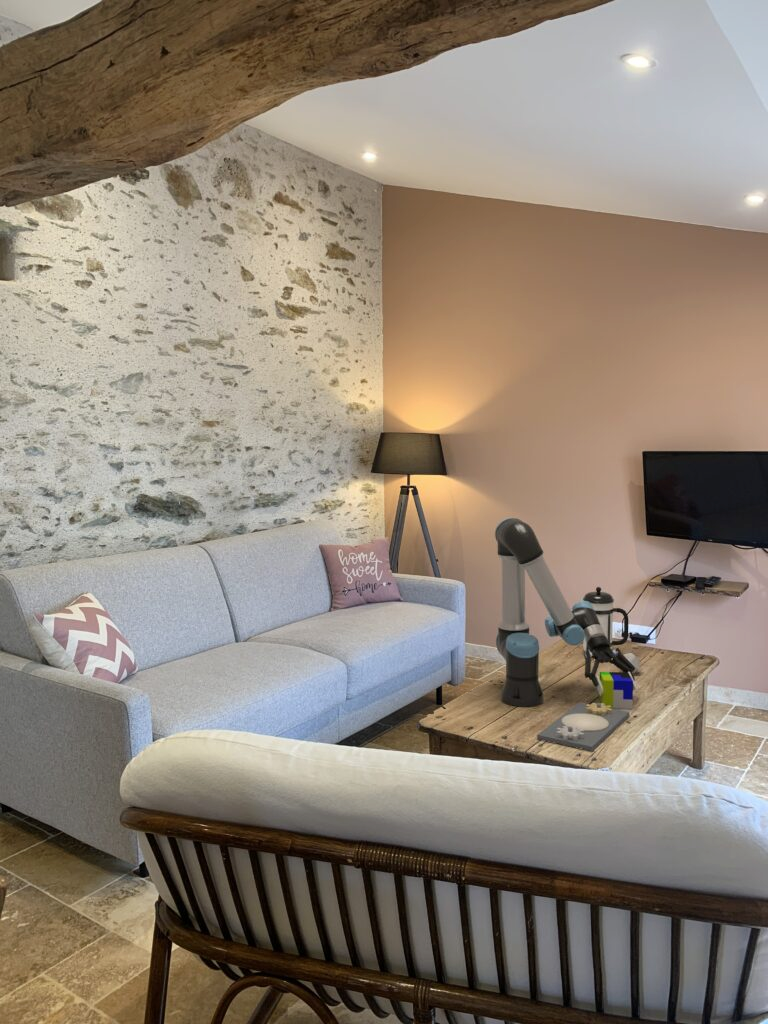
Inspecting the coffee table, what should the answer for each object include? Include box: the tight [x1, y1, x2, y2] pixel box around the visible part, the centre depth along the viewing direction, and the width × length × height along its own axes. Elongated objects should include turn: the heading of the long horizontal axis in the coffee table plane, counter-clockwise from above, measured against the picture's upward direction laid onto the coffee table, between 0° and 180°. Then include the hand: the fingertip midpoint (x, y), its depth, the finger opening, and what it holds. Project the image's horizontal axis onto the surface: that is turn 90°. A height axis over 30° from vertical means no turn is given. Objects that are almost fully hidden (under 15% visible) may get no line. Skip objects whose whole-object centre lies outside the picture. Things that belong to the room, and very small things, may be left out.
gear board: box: [536, 702, 630, 752], centre depth 270 cm, size 36×18×4 cm, turn 146°
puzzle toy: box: [598, 671, 634, 710], centre depth 292 cm, size 10×10×10 cm
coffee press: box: [581, 586, 629, 653], centre depth 352 cm, size 17×16×30 cm
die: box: [622, 652, 642, 675], centre depth 327 cm, size 8×9×10 cm
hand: (618, 691), depth 291 cm, fingers closed on puzzle toy, 12 cm apart
